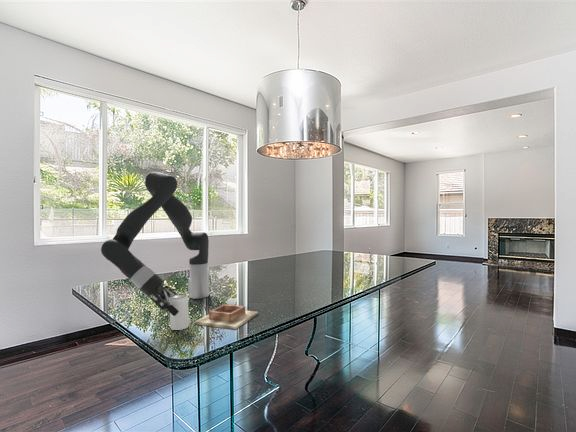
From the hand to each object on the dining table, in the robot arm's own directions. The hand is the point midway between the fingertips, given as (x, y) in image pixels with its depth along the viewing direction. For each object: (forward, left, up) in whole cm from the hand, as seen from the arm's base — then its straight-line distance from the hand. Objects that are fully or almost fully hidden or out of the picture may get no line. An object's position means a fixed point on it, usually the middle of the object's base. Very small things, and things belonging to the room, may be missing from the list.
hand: (179, 310), depth 114 cm
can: (0, 0, -7) cm, 7 cm away
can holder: (+12, +14, -7) cm, 19 cm away
